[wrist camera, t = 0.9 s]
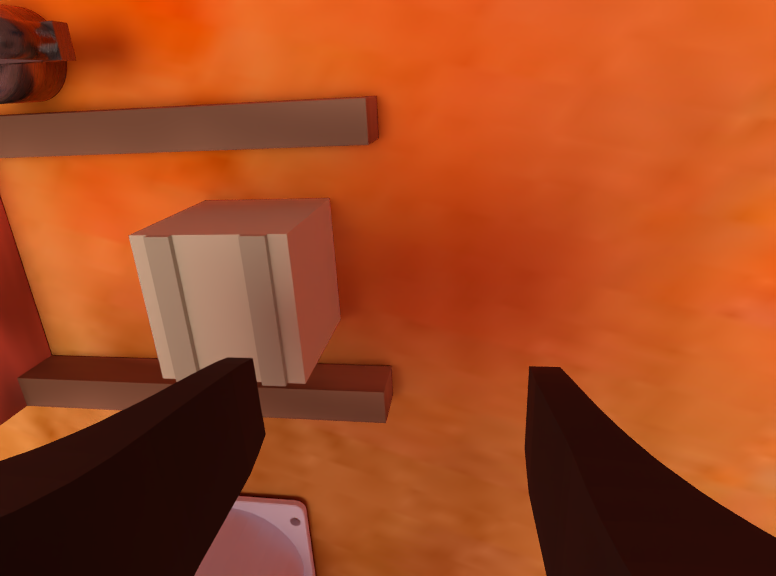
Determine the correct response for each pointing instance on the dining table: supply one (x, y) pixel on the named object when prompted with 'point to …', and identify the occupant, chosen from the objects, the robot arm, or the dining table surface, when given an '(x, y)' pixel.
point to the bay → (170, 134)
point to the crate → (241, 286)
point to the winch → (31, 56)
